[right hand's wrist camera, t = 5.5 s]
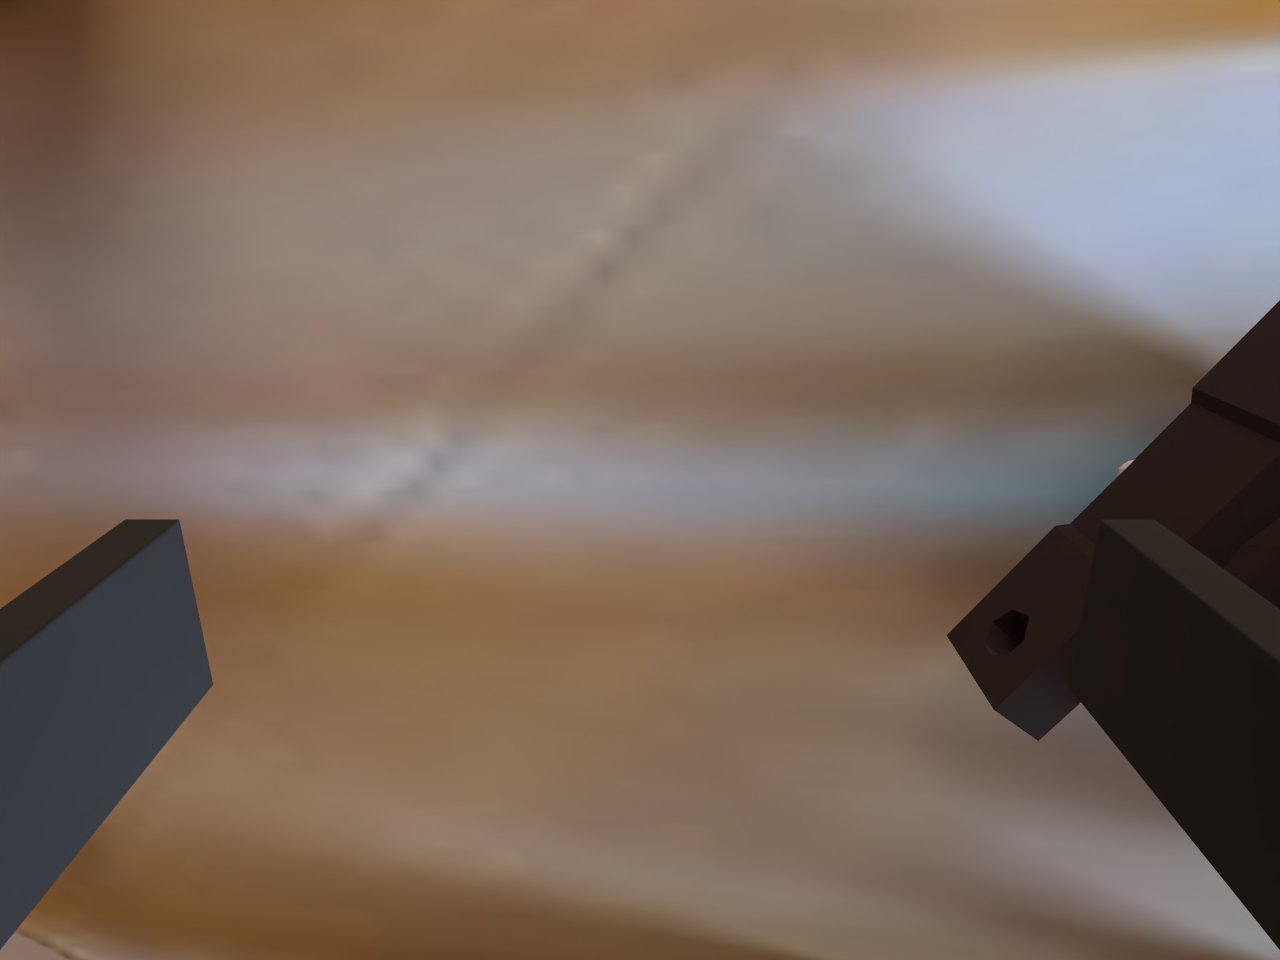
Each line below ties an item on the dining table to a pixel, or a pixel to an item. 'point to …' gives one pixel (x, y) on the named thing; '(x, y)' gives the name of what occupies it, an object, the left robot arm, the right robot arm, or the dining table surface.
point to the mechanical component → (1143, 490)
